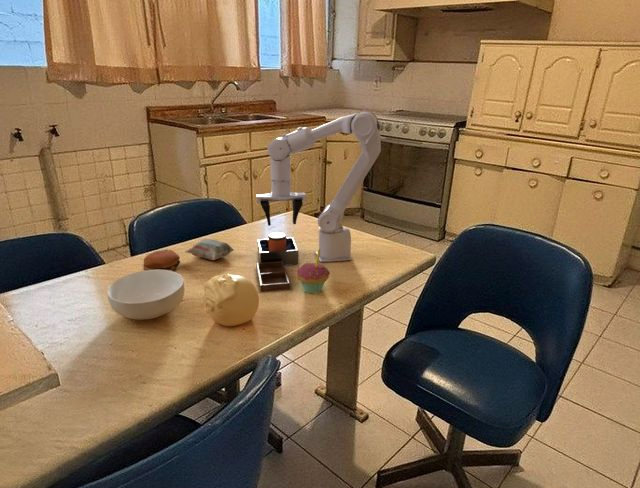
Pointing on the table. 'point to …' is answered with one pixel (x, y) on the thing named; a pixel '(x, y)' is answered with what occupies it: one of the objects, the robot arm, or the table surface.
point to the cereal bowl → (146, 294)
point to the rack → (272, 276)
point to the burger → (161, 260)
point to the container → (277, 241)
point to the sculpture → (231, 299)
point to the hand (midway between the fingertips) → (281, 223)
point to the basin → (278, 252)
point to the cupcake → (313, 276)
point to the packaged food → (210, 249)
